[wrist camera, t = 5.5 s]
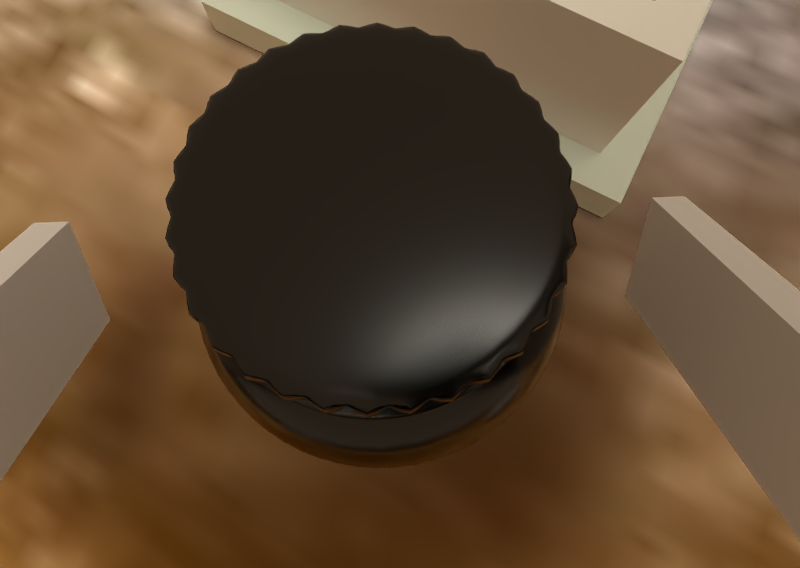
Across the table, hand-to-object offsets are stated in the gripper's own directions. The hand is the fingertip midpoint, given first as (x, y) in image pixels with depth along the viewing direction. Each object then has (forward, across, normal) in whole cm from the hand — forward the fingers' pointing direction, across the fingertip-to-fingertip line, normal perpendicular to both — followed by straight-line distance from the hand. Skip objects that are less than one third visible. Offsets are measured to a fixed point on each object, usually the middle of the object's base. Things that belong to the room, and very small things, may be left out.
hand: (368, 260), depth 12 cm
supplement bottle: (+3, 0, -5) cm, 6 cm away
